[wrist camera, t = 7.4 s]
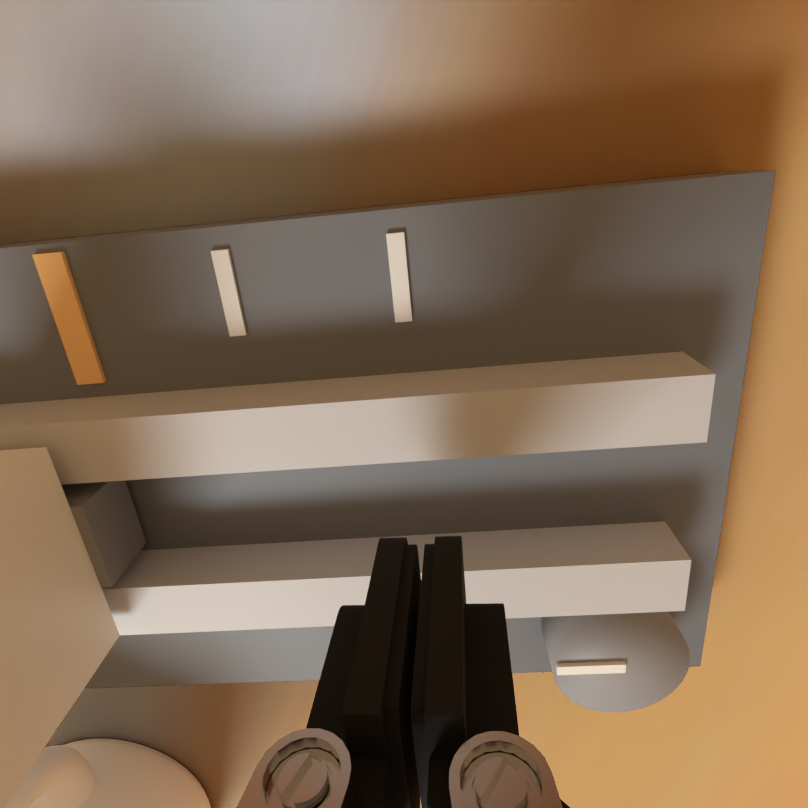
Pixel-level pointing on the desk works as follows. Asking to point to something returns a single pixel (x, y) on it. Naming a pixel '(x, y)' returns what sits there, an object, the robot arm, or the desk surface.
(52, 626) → the fader
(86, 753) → the mug
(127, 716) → the desk surface
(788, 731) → the desk surface
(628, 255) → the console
